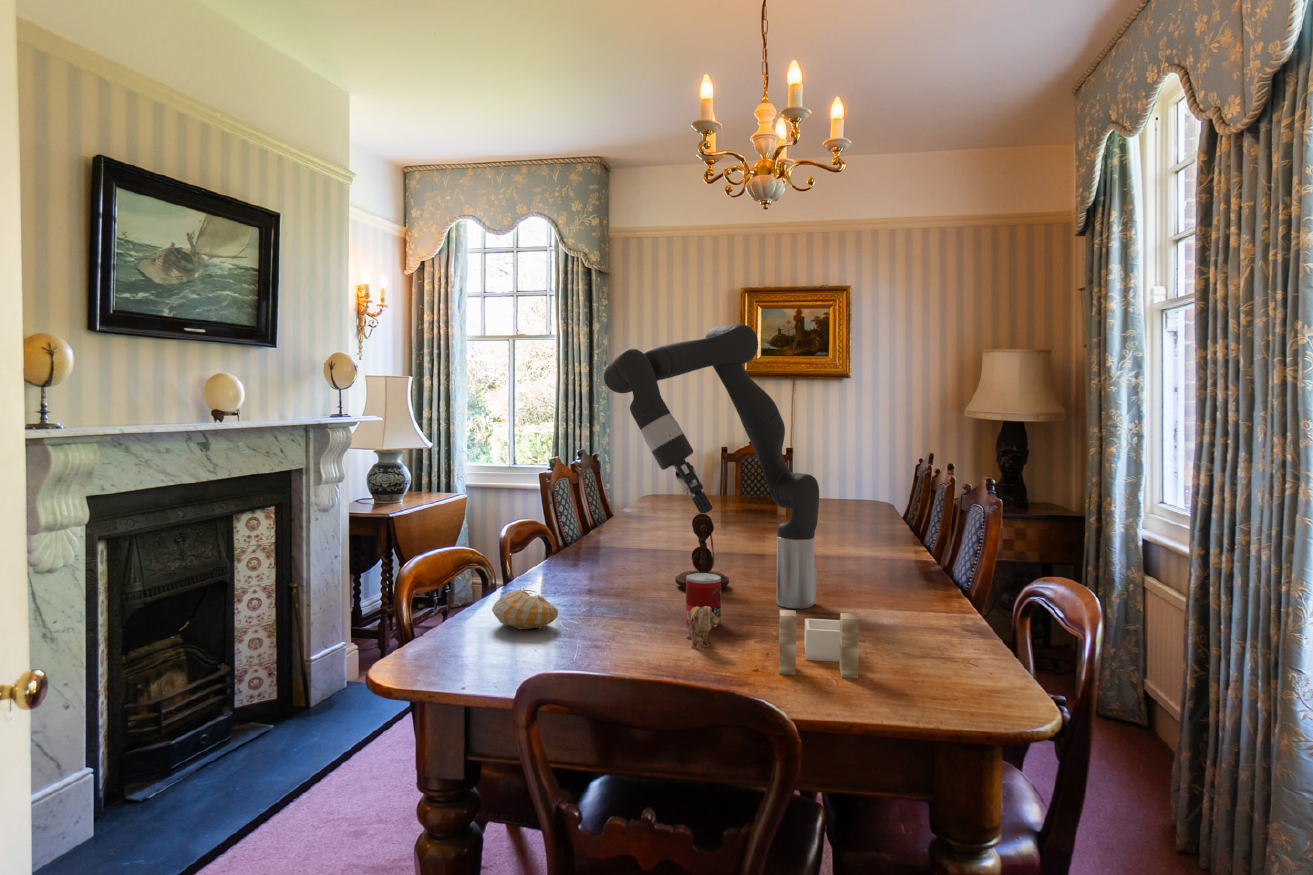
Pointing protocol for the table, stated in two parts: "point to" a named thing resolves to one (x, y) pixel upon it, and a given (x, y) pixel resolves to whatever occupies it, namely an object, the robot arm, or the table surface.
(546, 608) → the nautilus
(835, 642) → the open square box
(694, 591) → the canned food
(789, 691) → the table surface
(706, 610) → the lion figurine
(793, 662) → the tall square pillar
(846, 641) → the beige rectangular block
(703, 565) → the brown double wheel stand
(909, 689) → the table surface
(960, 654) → the table surface
